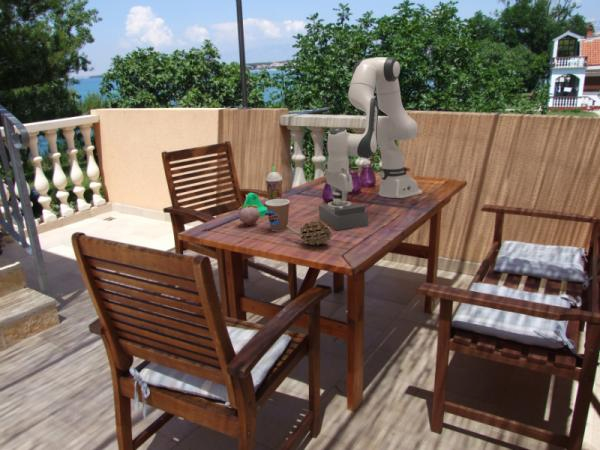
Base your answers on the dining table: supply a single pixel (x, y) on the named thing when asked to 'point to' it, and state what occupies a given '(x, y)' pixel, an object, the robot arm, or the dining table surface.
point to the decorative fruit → (248, 214)
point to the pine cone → (314, 232)
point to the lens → (338, 198)
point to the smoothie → (274, 185)
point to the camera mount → (255, 203)
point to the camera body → (344, 215)
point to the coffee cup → (278, 214)
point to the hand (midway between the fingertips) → (339, 197)
